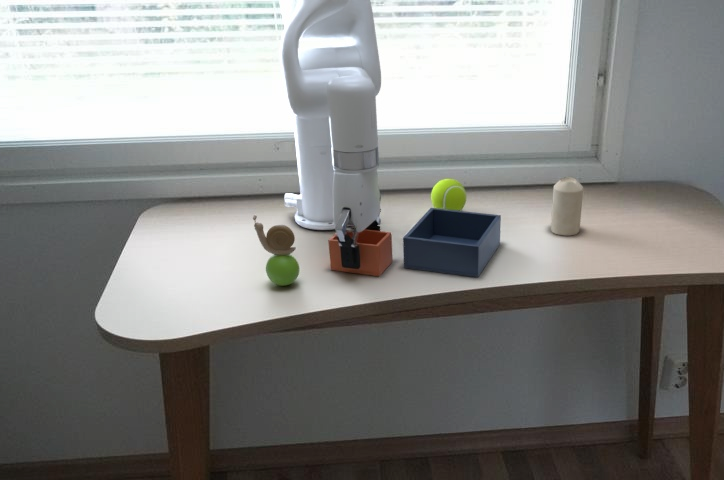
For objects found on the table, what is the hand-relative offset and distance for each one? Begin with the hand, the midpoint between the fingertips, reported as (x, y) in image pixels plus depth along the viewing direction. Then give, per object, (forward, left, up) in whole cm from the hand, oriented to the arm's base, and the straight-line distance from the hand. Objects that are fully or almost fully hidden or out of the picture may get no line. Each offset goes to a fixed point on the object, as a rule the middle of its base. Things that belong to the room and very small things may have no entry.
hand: (362, 257), depth 144 cm
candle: (+31, +27, -2) cm, 41 cm away
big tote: (+14, +9, -2) cm, 17 cm away
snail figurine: (-10, -11, -2) cm, 15 cm away
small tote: (0, 0, -2) cm, 2 cm away
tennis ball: (+7, +29, -2) cm, 30 cm away
